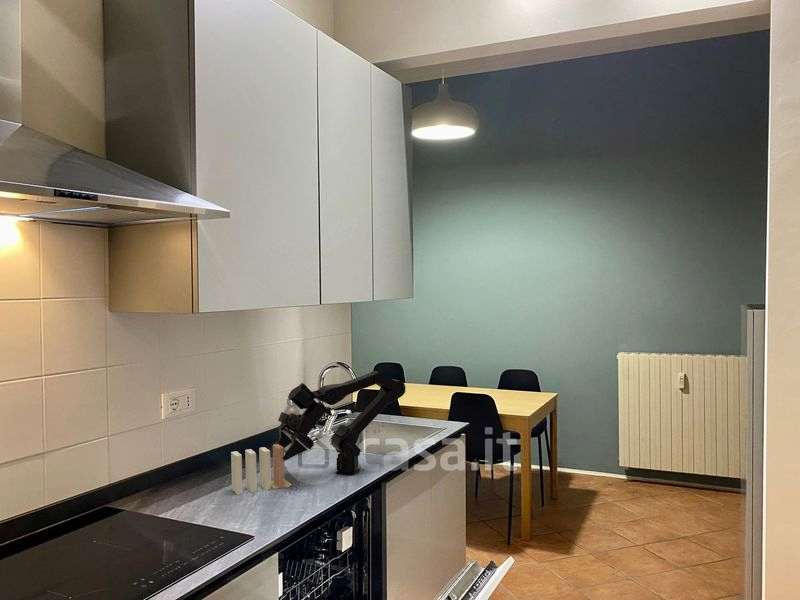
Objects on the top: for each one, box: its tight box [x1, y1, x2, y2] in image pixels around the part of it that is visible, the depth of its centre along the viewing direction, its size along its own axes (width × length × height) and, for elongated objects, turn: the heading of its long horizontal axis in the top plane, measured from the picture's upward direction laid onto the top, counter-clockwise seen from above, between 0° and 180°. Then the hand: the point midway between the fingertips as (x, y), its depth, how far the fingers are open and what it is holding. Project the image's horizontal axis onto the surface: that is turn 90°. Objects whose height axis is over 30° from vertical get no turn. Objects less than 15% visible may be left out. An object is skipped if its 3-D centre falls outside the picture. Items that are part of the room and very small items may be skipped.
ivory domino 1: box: [230, 451, 243, 496], centre depth 197 cm, size 2×6×12 cm, turn 30°
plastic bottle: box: [283, 398, 301, 452], centre depth 244 cm, size 6×7×20 cm
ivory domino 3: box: [258, 446, 272, 491], centre depth 202 cm, size 2×6×12 cm, turn 30°
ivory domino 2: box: [244, 448, 258, 493], centre depth 199 cm, size 2×6×12 cm, turn 30°
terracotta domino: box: [272, 443, 286, 486], centre depth 204 cm, size 2×6×12 cm, turn 30°
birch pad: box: [271, 478, 293, 490], centre depth 204 cm, size 6×8×1 cm
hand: (278, 456), depth 204 cm, fingers open, 9 cm apart
